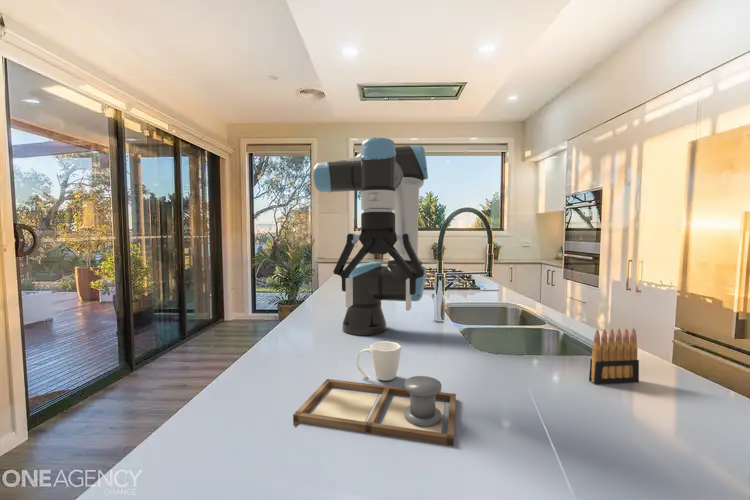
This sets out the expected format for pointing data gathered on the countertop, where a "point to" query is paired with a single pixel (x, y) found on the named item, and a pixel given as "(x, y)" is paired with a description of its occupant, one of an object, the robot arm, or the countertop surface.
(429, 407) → the doorknob
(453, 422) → the slot tray
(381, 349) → the cup
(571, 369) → the countertop surface
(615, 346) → the ammunition clip
